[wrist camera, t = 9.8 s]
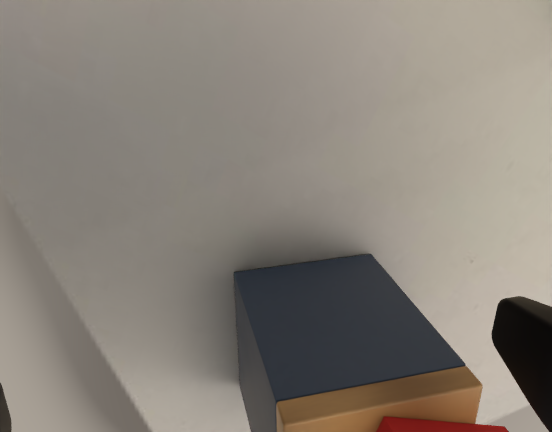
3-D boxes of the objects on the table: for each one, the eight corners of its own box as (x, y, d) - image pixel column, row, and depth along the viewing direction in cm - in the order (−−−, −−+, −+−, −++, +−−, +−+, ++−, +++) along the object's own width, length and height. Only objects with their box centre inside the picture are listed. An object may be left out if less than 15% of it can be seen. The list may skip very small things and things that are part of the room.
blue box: (239, 385, 26) (277, 538, 19) (233, 271, 23) (275, 400, 16) (363, 363, 27) (442, 498, 20) (371, 253, 24) (466, 364, 17)
